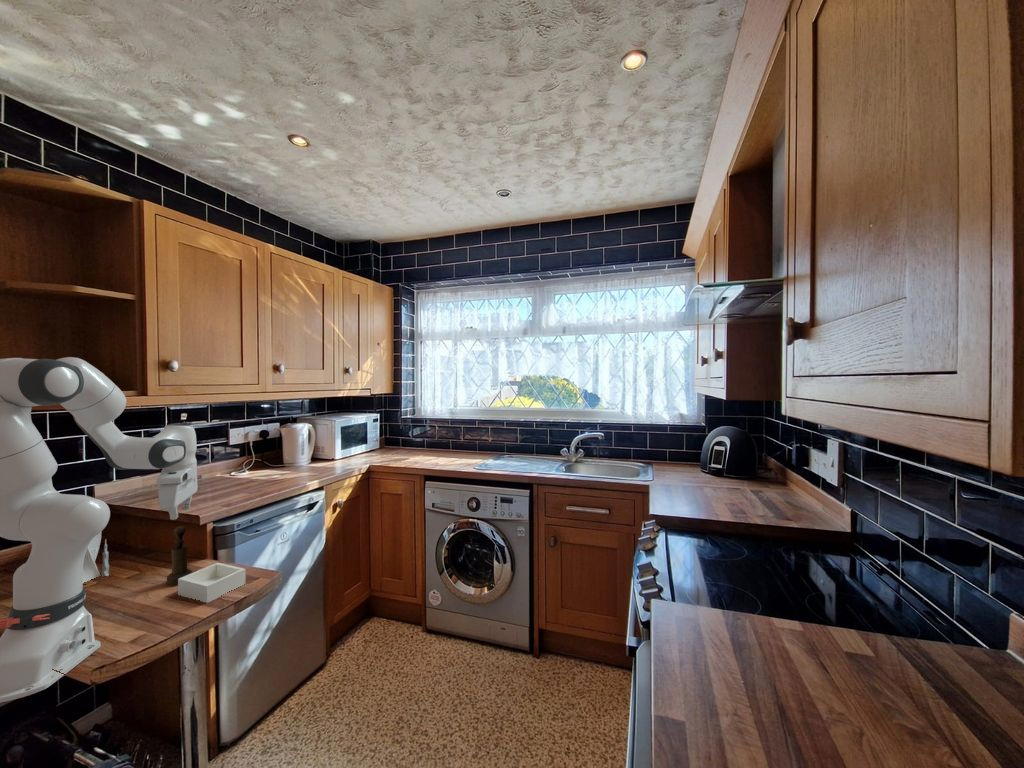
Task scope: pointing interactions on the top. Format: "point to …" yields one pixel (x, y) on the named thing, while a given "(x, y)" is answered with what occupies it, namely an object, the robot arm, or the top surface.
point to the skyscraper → (89, 560)
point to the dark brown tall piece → (178, 558)
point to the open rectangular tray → (211, 582)
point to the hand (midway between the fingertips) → (180, 514)
